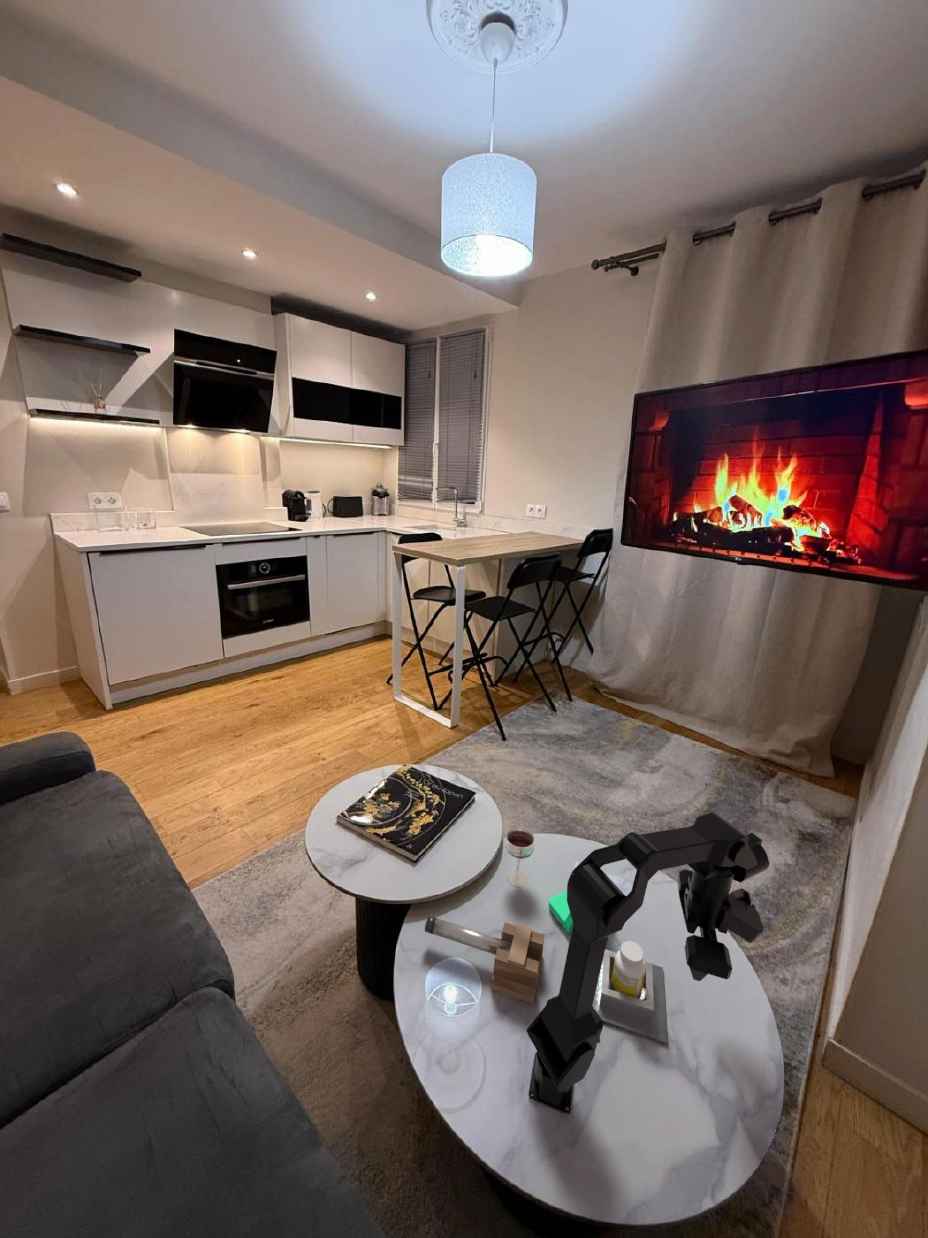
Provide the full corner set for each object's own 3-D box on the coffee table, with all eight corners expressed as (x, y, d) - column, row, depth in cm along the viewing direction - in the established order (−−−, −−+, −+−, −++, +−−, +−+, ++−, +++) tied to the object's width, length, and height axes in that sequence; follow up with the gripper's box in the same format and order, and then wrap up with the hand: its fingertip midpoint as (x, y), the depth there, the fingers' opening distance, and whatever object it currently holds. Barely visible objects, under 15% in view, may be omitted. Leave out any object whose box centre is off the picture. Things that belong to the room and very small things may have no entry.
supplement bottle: (627, 971, 95) (634, 933, 93) (646, 999, 91) (655, 960, 88) (604, 981, 94) (611, 942, 91) (622, 1009, 89) (630, 969, 86)
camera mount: (588, 889, 115) (593, 854, 112) (611, 916, 108) (617, 879, 105) (546, 908, 109) (550, 872, 106) (567, 937, 103) (572, 899, 100)
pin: (513, 950, 96) (514, 939, 95) (509, 964, 94) (510, 952, 93) (430, 923, 101) (430, 912, 100) (424, 935, 99) (424, 924, 98)
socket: (666, 1045, 84) (670, 1031, 83) (583, 1016, 88) (586, 1001, 87) (662, 969, 97) (665, 956, 96) (589, 947, 101) (591, 933, 100)
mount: (533, 1004, 90) (536, 975, 88) (491, 989, 92) (493, 960, 90) (542, 954, 99) (545, 927, 97) (503, 942, 101) (506, 915, 99)
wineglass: (516, 862, 121) (520, 823, 118) (536, 880, 116) (541, 839, 113) (496, 876, 117) (499, 835, 114) (516, 895, 112) (520, 853, 109)
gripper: (779, 951, 71) (756, 1026, 76) (751, 858, 88) (733, 924, 93) (696, 927, 74) (679, 1001, 79) (684, 842, 91) (670, 907, 96)
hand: (693, 955), depth 87 cm, fingers open, 9 cm apart
